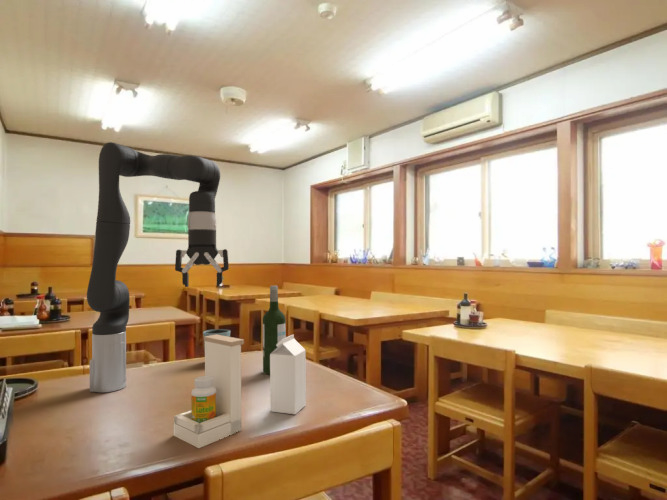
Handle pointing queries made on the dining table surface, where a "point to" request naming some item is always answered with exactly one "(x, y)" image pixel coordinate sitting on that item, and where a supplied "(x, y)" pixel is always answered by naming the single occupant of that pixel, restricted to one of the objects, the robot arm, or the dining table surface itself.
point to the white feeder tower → (217, 394)
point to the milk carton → (287, 377)
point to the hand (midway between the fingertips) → (202, 286)
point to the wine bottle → (272, 328)
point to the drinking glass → (216, 331)
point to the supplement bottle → (203, 399)
